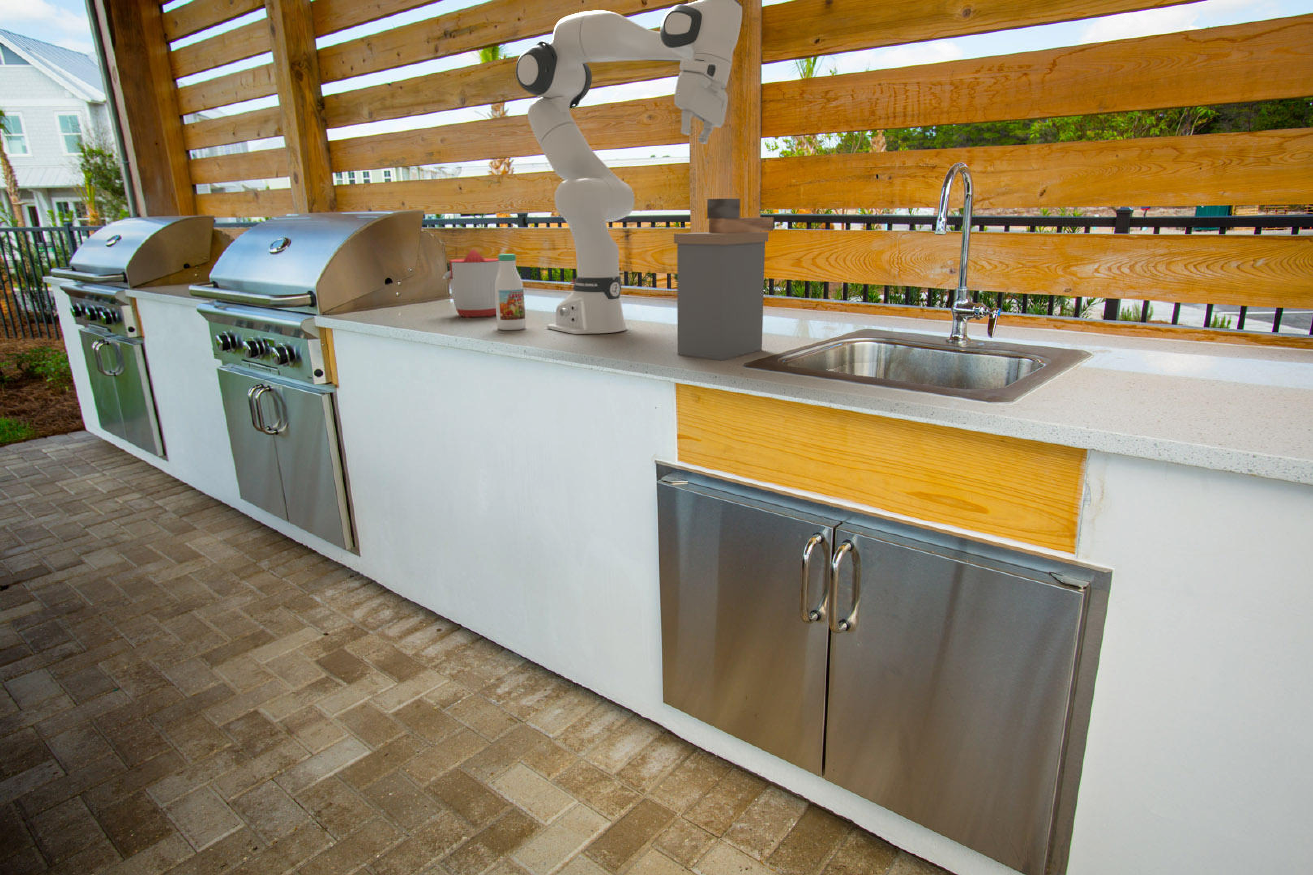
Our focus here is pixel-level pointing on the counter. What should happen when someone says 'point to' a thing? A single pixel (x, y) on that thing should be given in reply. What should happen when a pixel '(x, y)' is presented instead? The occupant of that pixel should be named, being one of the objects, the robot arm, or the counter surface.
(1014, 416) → the counter surface
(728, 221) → the brown grey stepped block
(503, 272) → the milk bottle
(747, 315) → the cabinet
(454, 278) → the citrus juicer
